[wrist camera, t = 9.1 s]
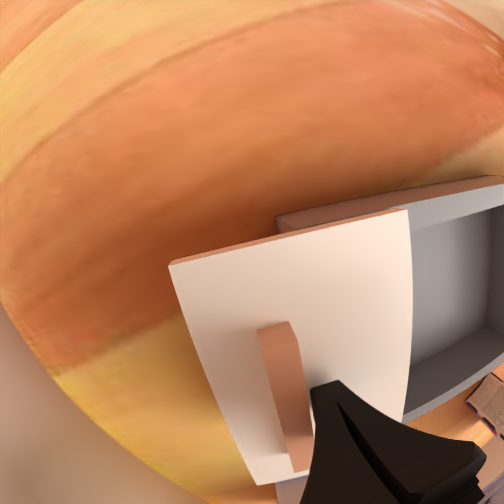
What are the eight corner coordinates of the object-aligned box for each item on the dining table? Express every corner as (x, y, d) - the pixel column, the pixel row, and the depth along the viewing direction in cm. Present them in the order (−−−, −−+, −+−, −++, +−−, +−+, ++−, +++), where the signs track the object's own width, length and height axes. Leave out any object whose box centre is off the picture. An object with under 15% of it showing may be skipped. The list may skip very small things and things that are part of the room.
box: (309, 406, 18) (328, 454, 14) (274, 216, 15) (296, 228, 10) (483, 328, 19) (516, 350, 14) (486, 175, 16) (532, 177, 11)
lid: (255, 475, 13) (259, 503, 11) (172, 260, 10) (158, 278, 8) (392, 434, 13) (406, 456, 11) (396, 207, 10) (429, 213, 8)
